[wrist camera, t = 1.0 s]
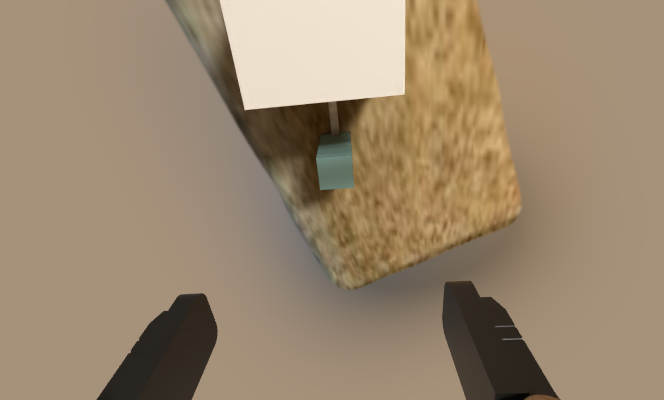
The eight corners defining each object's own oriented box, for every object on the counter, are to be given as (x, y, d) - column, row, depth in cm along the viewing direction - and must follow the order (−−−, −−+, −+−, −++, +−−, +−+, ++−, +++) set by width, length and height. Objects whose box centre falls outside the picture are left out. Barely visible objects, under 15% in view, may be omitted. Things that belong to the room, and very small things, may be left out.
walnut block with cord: (284, -30, 23) (258, -56, 16) (354, -39, 22) (358, -70, 15) (311, 162, 30) (301, 203, 23) (365, 158, 29) (371, 198, 22)
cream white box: (254, -52, 22) (195, -105, 13) (380, -70, 22) (406, -137, 13) (277, 82, 26) (244, 109, 18) (384, 71, 26) (404, 94, 17)
